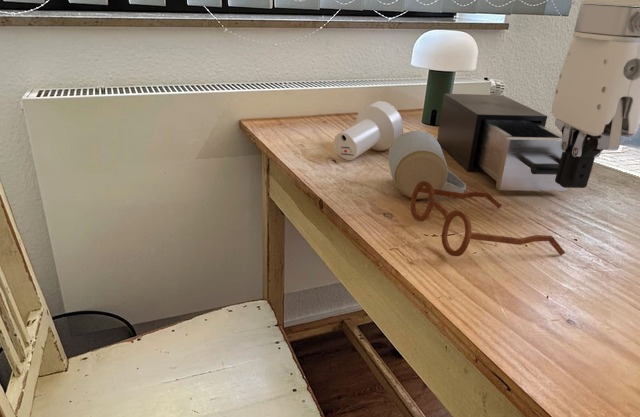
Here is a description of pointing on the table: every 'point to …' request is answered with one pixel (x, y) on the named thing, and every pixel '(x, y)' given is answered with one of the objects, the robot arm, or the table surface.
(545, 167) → the drawer
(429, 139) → the ceramic mug
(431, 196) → the glasses
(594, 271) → the table surface
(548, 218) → the table surface
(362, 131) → the spotlight
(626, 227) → the table surface
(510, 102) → the dark brown hollow box
